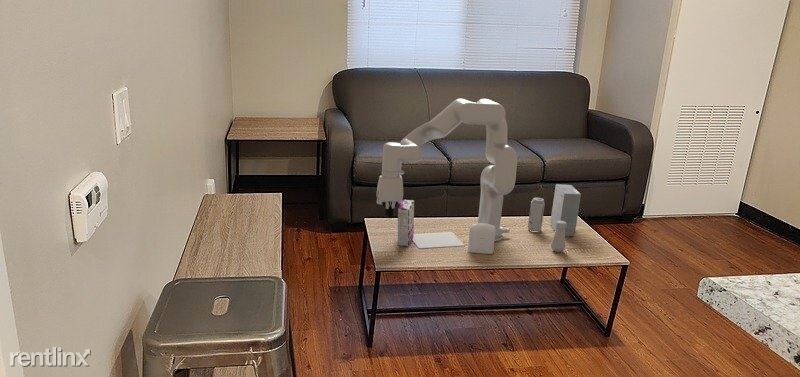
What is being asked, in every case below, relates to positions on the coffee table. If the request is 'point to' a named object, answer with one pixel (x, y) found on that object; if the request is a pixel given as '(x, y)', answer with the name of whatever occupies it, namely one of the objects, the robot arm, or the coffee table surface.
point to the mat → (436, 240)
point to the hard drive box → (565, 207)
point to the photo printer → (481, 238)
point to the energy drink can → (536, 214)
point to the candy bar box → (405, 223)
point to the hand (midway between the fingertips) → (388, 217)
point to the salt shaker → (559, 237)
